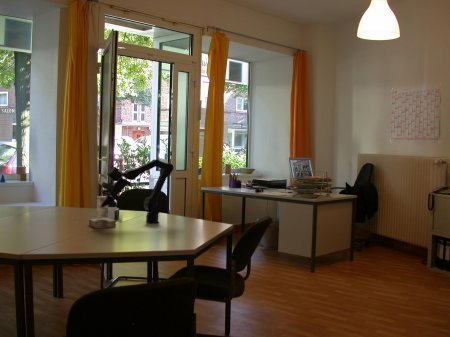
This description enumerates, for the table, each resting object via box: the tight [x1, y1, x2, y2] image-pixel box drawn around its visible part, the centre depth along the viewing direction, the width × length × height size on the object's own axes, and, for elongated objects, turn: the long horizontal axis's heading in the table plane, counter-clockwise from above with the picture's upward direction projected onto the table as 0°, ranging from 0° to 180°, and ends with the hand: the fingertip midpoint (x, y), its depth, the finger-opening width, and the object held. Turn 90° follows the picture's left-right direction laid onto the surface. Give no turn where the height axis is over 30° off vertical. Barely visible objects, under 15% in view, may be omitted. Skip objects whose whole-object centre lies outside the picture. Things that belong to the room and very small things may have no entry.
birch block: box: [96, 195, 108, 219], centre depth 281 cm, size 5×5×12 cm
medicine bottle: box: [106, 201, 120, 222], centre depth 303 cm, size 7×7×12 cm
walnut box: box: [88, 218, 117, 230], centre depth 282 cm, size 12×12×4 cm
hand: (100, 205), depth 280 cm, fingers closed on birch block, 5 cm apart
